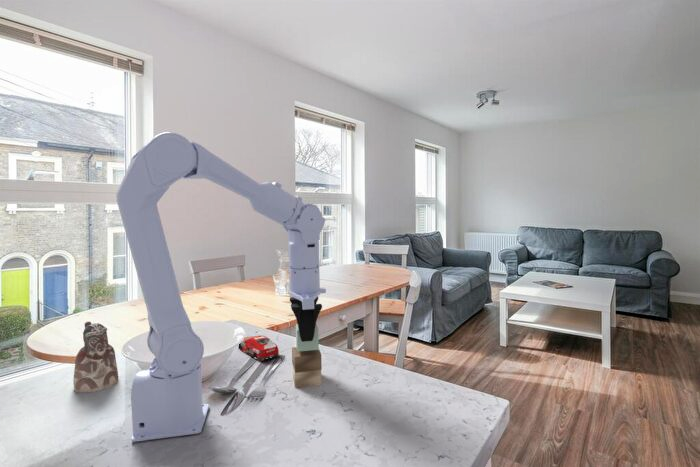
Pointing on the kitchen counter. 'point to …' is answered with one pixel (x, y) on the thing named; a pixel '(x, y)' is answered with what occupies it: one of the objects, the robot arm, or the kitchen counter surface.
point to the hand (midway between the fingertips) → (305, 336)
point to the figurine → (95, 361)
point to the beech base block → (307, 378)
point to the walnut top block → (306, 360)
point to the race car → (259, 347)
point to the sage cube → (307, 344)
